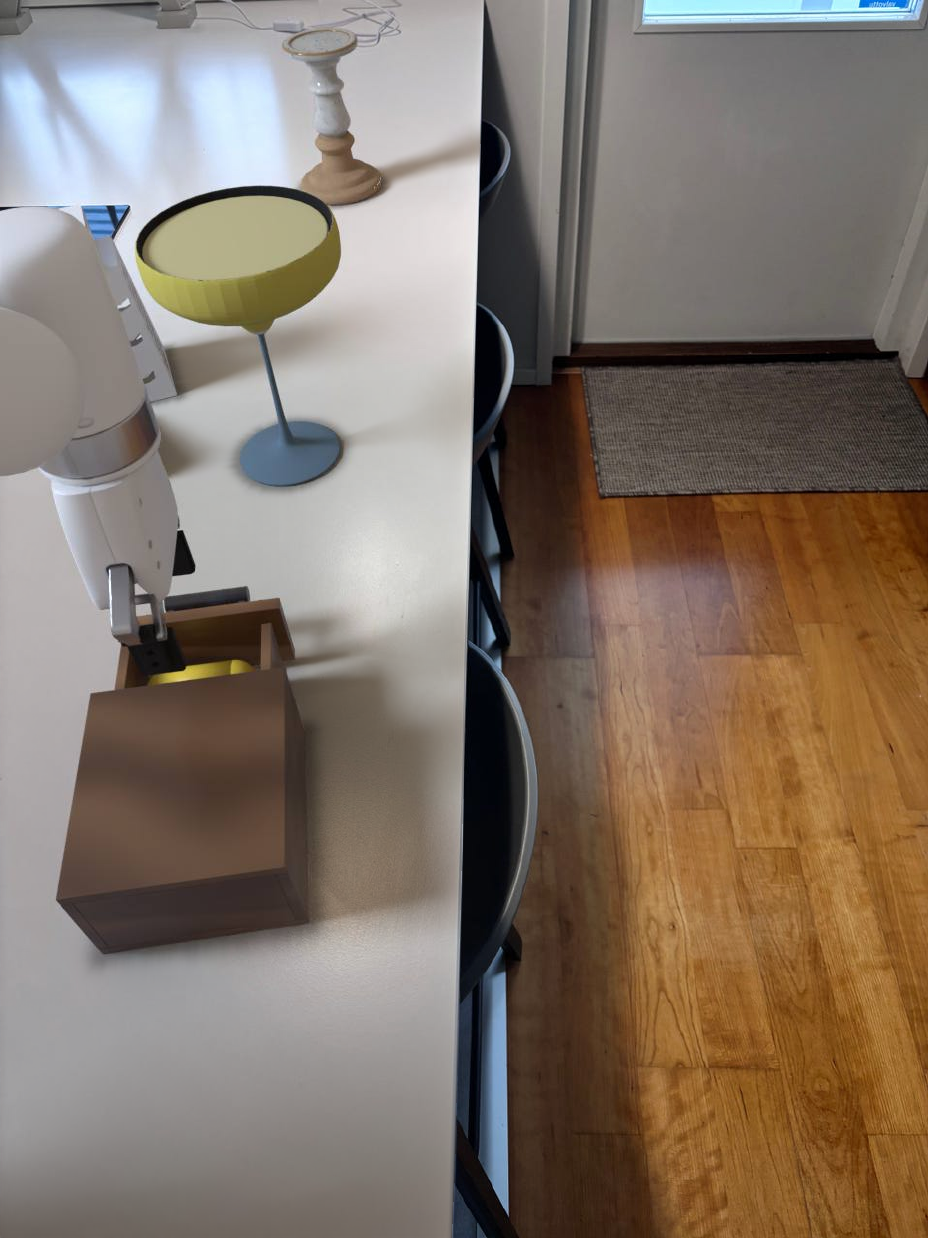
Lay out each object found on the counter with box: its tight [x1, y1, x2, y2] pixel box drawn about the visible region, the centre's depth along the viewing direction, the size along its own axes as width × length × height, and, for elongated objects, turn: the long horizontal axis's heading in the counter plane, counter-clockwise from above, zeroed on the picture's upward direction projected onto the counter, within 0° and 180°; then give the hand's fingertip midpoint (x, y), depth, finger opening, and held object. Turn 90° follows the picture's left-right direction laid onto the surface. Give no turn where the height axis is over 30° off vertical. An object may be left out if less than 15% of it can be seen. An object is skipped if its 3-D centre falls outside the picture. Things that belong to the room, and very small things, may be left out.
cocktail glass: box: [134, 185, 342, 487], centre depth 93 cm, size 18×18×25 cm
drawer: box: [113, 585, 296, 690], centre depth 76 cm, size 20×13×7 cm
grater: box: [57, 203, 178, 403], centre depth 106 cm, size 10×10×20 cm
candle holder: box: [281, 27, 382, 206], centre depth 137 cm, size 12×12×20 cm
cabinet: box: [55, 666, 310, 954], centre depth 69 cm, size 17×15×9 cm
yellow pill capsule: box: [147, 660, 256, 686], centre depth 77 cm, size 9×4×4 cm, turn 97°
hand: (170, 619), depth 70 cm, fingers open, 9 cm apart
